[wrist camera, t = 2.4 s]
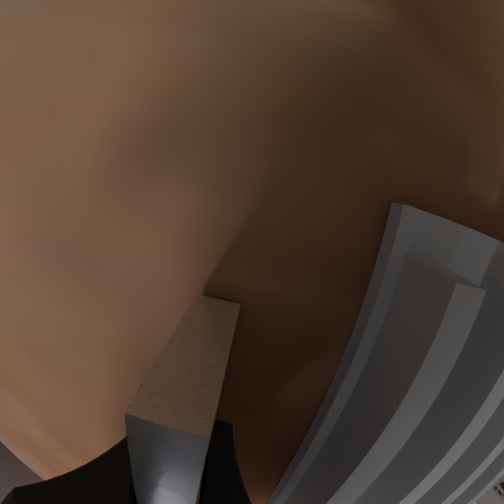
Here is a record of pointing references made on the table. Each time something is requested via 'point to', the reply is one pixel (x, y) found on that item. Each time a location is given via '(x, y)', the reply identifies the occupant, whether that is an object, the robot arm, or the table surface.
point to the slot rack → (414, 377)
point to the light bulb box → (493, 494)
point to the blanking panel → (180, 405)
